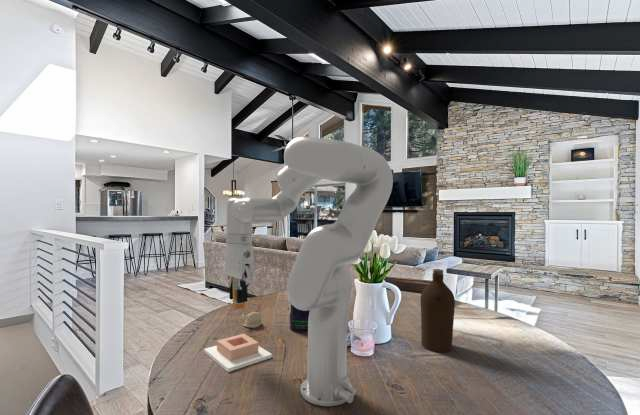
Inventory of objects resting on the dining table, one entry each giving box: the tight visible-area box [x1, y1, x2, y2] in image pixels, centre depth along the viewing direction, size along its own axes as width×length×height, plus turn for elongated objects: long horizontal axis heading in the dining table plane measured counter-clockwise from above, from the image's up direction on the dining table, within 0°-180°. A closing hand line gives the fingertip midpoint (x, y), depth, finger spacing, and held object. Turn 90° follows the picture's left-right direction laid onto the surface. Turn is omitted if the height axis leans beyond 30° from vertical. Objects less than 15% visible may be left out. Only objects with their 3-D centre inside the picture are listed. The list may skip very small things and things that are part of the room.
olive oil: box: [420, 268, 456, 353], centre depth 111 cm, size 11×11×25 cm
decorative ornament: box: [241, 311, 263, 329], centre depth 126 cm, size 4×8×5 cm, turn 127°
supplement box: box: [232, 276, 246, 310], centre depth 102 cm, size 3×3×10 cm
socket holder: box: [203, 333, 273, 373], centre depth 102 cm, size 16×14×4 cm
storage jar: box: [289, 303, 310, 334], centre depth 125 cm, size 10×10×15 cm
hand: (238, 299), depth 102 cm, fingers closed on supplement box, 3 cm apart
